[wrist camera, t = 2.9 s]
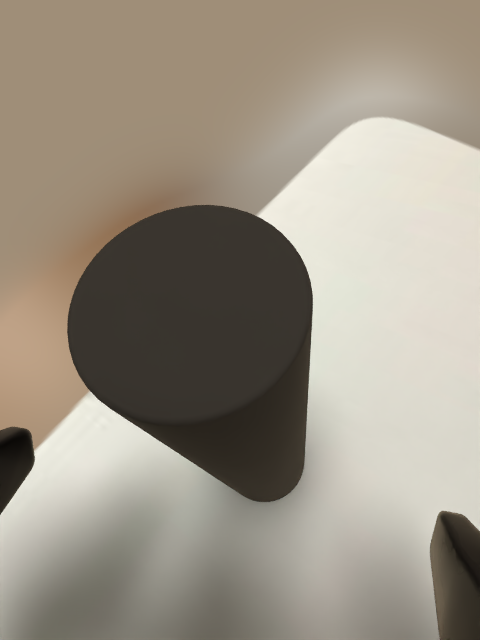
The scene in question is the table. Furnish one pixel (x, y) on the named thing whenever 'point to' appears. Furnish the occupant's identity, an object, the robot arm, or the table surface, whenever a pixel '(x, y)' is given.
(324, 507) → the table surface
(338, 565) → the table surface
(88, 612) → the table surface
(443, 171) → the table surface
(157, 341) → the post
